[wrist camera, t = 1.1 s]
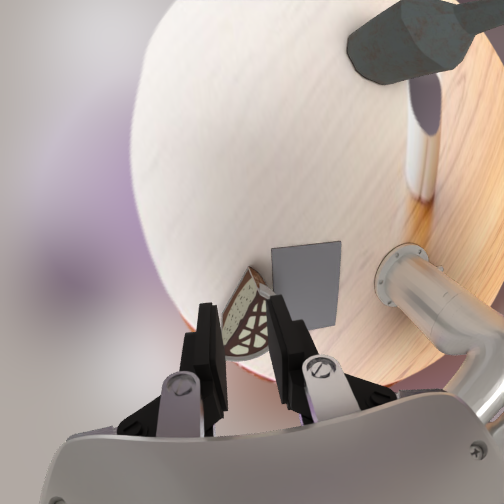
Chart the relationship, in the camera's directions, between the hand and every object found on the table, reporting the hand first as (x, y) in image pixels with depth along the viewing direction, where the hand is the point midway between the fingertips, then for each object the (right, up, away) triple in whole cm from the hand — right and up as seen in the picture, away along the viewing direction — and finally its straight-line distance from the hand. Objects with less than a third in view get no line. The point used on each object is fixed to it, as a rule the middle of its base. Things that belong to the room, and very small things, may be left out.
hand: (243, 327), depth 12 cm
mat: (+9, -3, +31) cm, 33 cm away
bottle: (+19, +34, +18) cm, 43 cm away
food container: (0, -4, +31) cm, 31 cm away
